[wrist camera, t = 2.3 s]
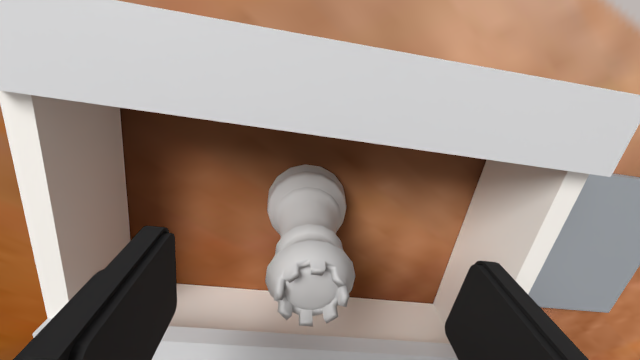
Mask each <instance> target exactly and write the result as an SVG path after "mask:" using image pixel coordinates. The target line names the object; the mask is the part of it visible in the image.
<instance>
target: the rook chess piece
mask: <svg viewBox="0 0 640 360" xmlns="http://www.w3.org/2000/svg"><path fill="white" fill-rule="evenodd" d="M346 208H347V206H346V199H345V194H344V189H343V186H342V184H341V183H340V182H339V180H338V179H337V177H336V176H335V175H334V174H333V173H331V172H329V171H328V170H326V169H324V168H322V167H320V166H313V165H306V164H305V165H300V166H296V167H292V168H289V169H288V170H286V171H285V172H283V173H282V174H280V175H279V176H277V178H276V179H275V181H274V182H273V184H272V186H271V187H270V189H269V195H268V207H267V212H268V215H269V218H270V221H271V224H272V226H273V228H274V229H275V230H276V231H277V232H278V233H279V234H280V235H281V239H280V240H279V242H278V243H277V245H276V252H275V256H274V258H273V259H272V261H271V262H270V264H269V265H268V267H267V273H266V280H265V282H266V285H267V287H268V290H269V293H270V295H271V296H272V297H273V298H274V301H277V302H278V313H280V314H281V315H282V316H283V317H284V318H285V319H286V320H288V319H289V318H290V317H291V316H292V312H293V313H295V314H297V315H299V326H310V327H313V318H312V316H316V315H321V314H323V318H324V320H325V322H326V324H327V323H329V322H330V321H332V320H334V319H336V318H337V317H338V312H337V306H338V305H339V306H343V307H347V303H348V299H349V293H350V291H351V290H352V287H353V283H354V280H355V272H354V267H353V262H352V261H351V260H350V258H349V257H348V256H347V255H346V253H345V252H344V251H343V247H342V243H341V240H340V239H339V238H338V237H337V235H336V232H337V230H338V229H339V227H340V226H341V225H342V223H343V220H344V216H345V212H346Z"/></svg>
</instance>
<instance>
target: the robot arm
mask: <svg viewBox="0 0 640 360" xmlns="http://www.w3.org/2000/svg"><path fill="white" fill-rule="evenodd" d="M176 307H177V285H176V259H175V237H174V234H173V233H169V230H168V229H167V228H165V227H155V226H144V227H143V228H142V229H141V230H140V231H139V232H138V233H137V234H136V235H135V237H134V238H133V239H132V240H131V241H130V242H129V243H128V244H127V245H126V246H125V247H124V248H123V249H122V250H121V252H120V253H119V254H118V255H117V256H116V257H115V258H114V259H113V260H112V261H111V262H110V263H109V264H108V266H107V267H106V268H105V269H103V270H100V271H98V272H97V273H96V274H95V275H93V276H92V278H91V279H90V280H89V281H88V282H87V283H86V284H85V285H84V286H83V287H82V288H81V289H80V290H79V291H78V292H77V293H76V294H75V295H74V296H73V297H72V298H71V300H70V301H69V302H68V303H67V304H66V305H65V306H64V307H63V308H62V309H61V310H60V311H59V312H58V313H57V314H56V315H55V316H54V317H53V318H52V319H51V321H50V322H49V323H48V324H47V325H46V326H45V327H44V328H43V329H42V330H41V331H40V332H39V333H38V334H37V335H36V336H35V337H34V338H33V339H32V340H31V341H30V343H29V344H28V345H27V346H26V347H25V348H24V349H23V350H22V351H21V352H20V353H19V354H18V355H17V356H16V357H15V358H14V359H13V360H152V358H153V356H154V354H155V352H156V350H157V348H158V346H159V344H160V342H161V340H162V338H163V336H164V334H165V332H166V330H167V328H168V326H169V324H170V322H171V320H172V318H173V316H174V314H175V311H176ZM445 334H446V336H447V338H448V340H449V342H450V344H451V346H452V348H453V350H454V352H455V354H456V356H457V358H458V360H588V359H587V357H586V356H585V355H584V354H583V353H582V352H581V351H580V350H579V349H578V348H577V347H576V346H575V345H574V343H573V342H572V341H571V340H570V339H569V338H568V337H567V336H566V335H565V334H564V333H563V332H562V331H561V329H560V328H559V327H558V326H557V325H556V324H555V323H554V322H553V321H552V320H551V319H550V318H549V317H548V315H547V314H546V313H545V312H544V311H543V310H542V309H541V308H540V307H539V306H538V305H537V304H536V303H535V301H534V300H533V299H532V298H531V297H530V296H529V295H528V294H527V293H526V292H525V291H524V290H523V289H522V287H521V286H520V285H519V284H518V283H517V282H516V281H515V280H514V279H513V278H512V277H511V276H510V275H509V273H508V272H507V271H506V270H505V269H504V268H503V267H502V266H501V265H500V264H499V263H496V262H489V261H477V262H476V263H475V264H474V265H472V266H471V267H470V268H469V270H468V273H467V275H466V277H465V279H464V282H463V284H462V286H461V289H460V291H459V293H458V295H457V298H456V300H455V302H454V304H453V307H452V309H451V311H450V313H449V316H448V318H447V320H446V322H445Z"/></svg>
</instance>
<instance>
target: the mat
mask: <svg viewBox="0 0 640 360" xmlns="http://www.w3.org/2000/svg"><path fill="white" fill-rule="evenodd" d="M639 265H640V177H634V176H627V175H620V174H613V173H612V175H611V177H607V176H600V175H593V174H589V176H588V178H587V180H586V182H585V184H584V186H583V188H582V190H581V192H580V194H579V196H578V198H577V200H576V202H575V203H574V205H573V207H572V209H571V211H570V213H569V215H568V217H567V219H566V221H565V223H564V225H563V227H562V229H561V231H560V233H559V235H558V237H557V239H556V241H555V243H554V245H553V247H552V249H551V251H550V253H549V254H548V256H547V258H546V260H545V262H544V264H543V266H542V268H541V270H540V272H539V274H538V276H537V278H536V280H535V282H534V284H533V286H532V288H531V290H530V292H529V294H528V295H529V296H530V297H531V298H532V299H533V300H534V301H535V303H536V304H537V305H538V306H539V307H545V308H557V309H570V310H582V311H594V312H607V313H609V312H610V310H611V308H612V307H613V305H614V304H615V302H616V301H617V299H618V298H619V296H620V295H621V293H622V292H623V290H624V288H625V287H626V285H627V284H628V282H629V281H630V279H631V278H632V276H633V275H634V273H635V271H636V270H637V268H638V267H639Z"/></svg>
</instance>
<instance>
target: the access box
mask: <svg viewBox="0 0 640 360" xmlns="http://www.w3.org/2000/svg"><path fill="white" fill-rule="evenodd" d="M0 104H1V108H2V113H3V117H4V122H5V127H6V131H7V136H8V140H9V145H10V149H11V154H12V158H13V163H14V167H15V172H16V177H17V181H18V186H19V190H20V195H21V199H22V204H23V208H24V213H25V217H26V222H27V226H28V231H29V236H30V240H31V245H32V249H33V254H34V258H35V263H36V267H37V272H38V276H39V281H40V286H41V290H42V295H43V299H44V304H45V308H46V313H47V317H48V319H47V320H46V321H45V322H44V323H43V324H42V325H41V326H40V327H39V328H38V329H37V330H36V331H35V332H34V333H33V338H34V337H35V336H36V335H37V334H38V333H39V332H40V331H41V330H42V329H43V328H44V327H45V326H46V325H47V324H48V323H49V322H50V321H51V319H52V318H53V317H54V316H55V315H56V314H57V313H58V312H59V311H60V310H61V309H62V308H63V307H64V306H65V305H66V304H67V303H68V302H69V301H70V300H71V298H72V297H73V296H74V295H75V294H76V293H77V292H78V291H79V290H80V289H81V288H82V287H83V286H84V285H85V284H86V283H87V282H88V281H89V280H90V279H91V278H92V276H93V275H95V274H96V273H97V272H98V271H100V270H103V269H105V268H106V267H107V266H108V264H109V263H110V262H111V261H112V260H113V259H114V258H115V257H116V256H117V255H118V254H119V253H120V252H121V250H122V249H123V248H124V247H125V246H126V245H127V244H128V243H129V242H130V241H131V239H130V227H129V214H128V202H127V190H126V178H125V165H124V153H123V141H122V128H121V116H120V108H127V109H134V110H141V111H148V112H155V113H162V114H169V115H176V116H183V117H190V118H197V119H204V120H212V121H219V122H226V123H233V124H240V125H247V126H254V127H261V128H268V129H275V130H282V131H289V132H296V133H303V134H310V135H317V136H324V137H332V138H339V139H346V140H353V141H360V142H367V143H374V144H381V145H388V146H395V147H402V148H409V149H416V150H423V151H430V152H437V153H444V154H451V155H459V156H466V157H473V158H480V159H487V160H486V162H485V165H484V168H483V171H482V173H481V176H480V179H479V181H478V184H477V187H476V189H475V192H474V195H473V197H472V200H471V203H470V206H469V208H468V211H467V214H466V216H465V219H464V222H463V224H462V227H461V230H460V232H459V235H458V238H457V240H456V243H455V246H454V249H453V251H452V254H451V257H450V259H449V262H448V265H447V267H446V270H445V273H444V275H443V278H442V281H441V284H440V286H439V289H438V292H437V294H436V297H435V300H434V302H433V304H429V303H416V302H403V301H391V300H378V299H365V298H353V297H349V299H348V303H347V307H343V306H339V305H338V306H337V312H338V317H337V318H336V319H334V320H332V321H330V322H329V323H327V324H326V322H325V320H324V318H323V314H321V315H316V316H312V318H313V327H310V326H299V315H297V314H295V313H293V312H292V316H291V317H290V318H289V319H288V320H286V319H285V318H284V317H283V316H282V315H281V314H280V313H278V302H277V301H274V298H273V297H272V296H271V295H270V293H269V291H264V290H251V289H239V288H226V287H213V286H201V285H188V284H176V285H177V307H176V311H175V314H174V316H173V318H172V320H171V322H170V324H169V326H168V328H167V330H166V332H165V334H164V336H163V338H162V340H161V342H160V344H159V346H158V348H157V350H156V352H155V354H154V356H153V358H152V360H458V358H457V356H456V354H455V352H454V350H453V348H452V346H451V344H450V342H449V340H448V338H447V336H446V334H445V322H446V320H447V318H448V316H449V313H450V311H451V309H452V307H453V304H454V302H455V300H456V298H457V295H458V293H459V291H460V289H461V286H462V284H463V282H464V279H465V277H466V275H467V273H468V270H469V268H470V267H471V266H472V265H474V264H475V263H476V262H477V261H489V262H496V263H499V264H500V265H501V266H502V267H503V268H504V269H505V270H506V271H507V272H508V273H509V275H510V276H511V277H512V278H513V279H514V280H515V281H516V282H517V283H518V284H519V285H520V286H521V287H522V289H523V290H524V291H525V292H526V293H527V294H529V292H530V290H531V288H532V286H533V284H534V282H535V280H536V278H537V276H538V274H539V272H540V270H541V268H542V266H543V264H544V262H545V260H546V258H547V256H548V254H549V253H550V251H551V249H552V247H553V245H554V243H555V241H556V239H557V237H558V235H559V233H560V231H561V229H562V227H563V225H564V223H565V221H566V219H567V217H568V215H569V213H570V211H571V209H572V207H573V205H574V203H575V202H576V200H577V198H578V196H579V194H580V192H581V190H582V188H583V186H584V184H585V182H586V180H587V178H588V176H589V174H593V175H600V176H607V177H611V175H612V173H613V172H614V170H615V168H616V166H617V164H618V162H619V160H620V159H621V157H622V155H623V153H624V151H625V149H626V147H627V146H628V144H629V142H630V140H631V138H632V136H633V134H634V133H635V131H636V129H637V127H638V125H639V123H640V95H637V94H631V93H626V92H620V91H615V90H609V89H604V88H598V87H592V86H587V85H581V84H576V83H570V82H565V81H559V80H554V79H548V78H543V77H537V76H531V75H526V74H520V73H515V72H509V71H504V70H498V69H493V68H487V67H482V66H476V65H471V64H465V63H459V62H454V61H448V60H443V59H437V58H432V57H426V56H421V55H415V54H410V53H404V52H399V51H393V50H387V49H382V48H376V47H371V46H365V45H360V44H354V43H349V42H343V41H338V40H332V39H327V38H321V37H315V36H310V35H304V34H299V33H293V32H288V31H282V30H277V29H271V28H266V27H260V26H255V25H249V24H243V23H238V22H232V21H227V20H221V19H216V18H210V17H205V16H199V15H194V14H188V13H183V12H177V11H171V10H166V9H160V8H155V7H149V6H144V5H138V4H133V3H127V2H122V1H116V0H0Z"/></svg>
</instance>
